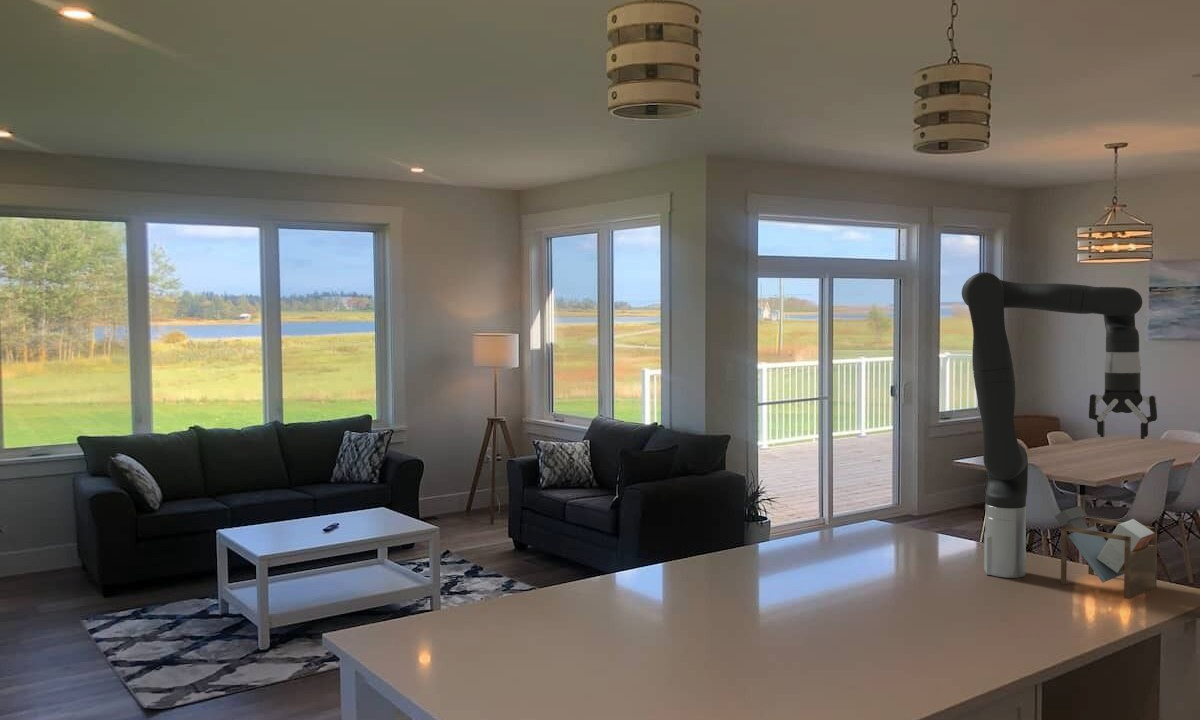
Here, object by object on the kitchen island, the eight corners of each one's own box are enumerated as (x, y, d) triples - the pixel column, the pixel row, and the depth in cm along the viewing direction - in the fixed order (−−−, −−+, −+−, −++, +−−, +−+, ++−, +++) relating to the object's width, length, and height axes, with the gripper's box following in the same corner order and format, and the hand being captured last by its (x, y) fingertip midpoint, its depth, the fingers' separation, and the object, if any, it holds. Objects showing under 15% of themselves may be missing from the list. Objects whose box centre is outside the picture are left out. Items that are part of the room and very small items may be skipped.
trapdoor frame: (1060, 584, 220) (1061, 526, 219) (1090, 573, 229) (1090, 517, 228) (1128, 598, 208) (1128, 537, 207) (1156, 586, 217) (1157, 527, 216)
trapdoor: (1050, 517, 223) (1059, 511, 221) (1074, 511, 230) (1083, 504, 228) (1098, 584, 214) (1109, 578, 212) (1122, 575, 221) (1132, 569, 219)
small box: (1117, 573, 213) (1140, 538, 209) (1095, 558, 217) (1118, 523, 212) (1132, 567, 218) (1155, 532, 213) (1110, 552, 222) (1133, 518, 217)
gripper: (1087, 371, 222) (1087, 438, 223) (1155, 371, 214) (1155, 441, 215) (1091, 369, 229) (1091, 434, 229) (1158, 370, 220) (1158, 437, 221)
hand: (1122, 437), depth 222 cm, fingers open, 8 cm apart
